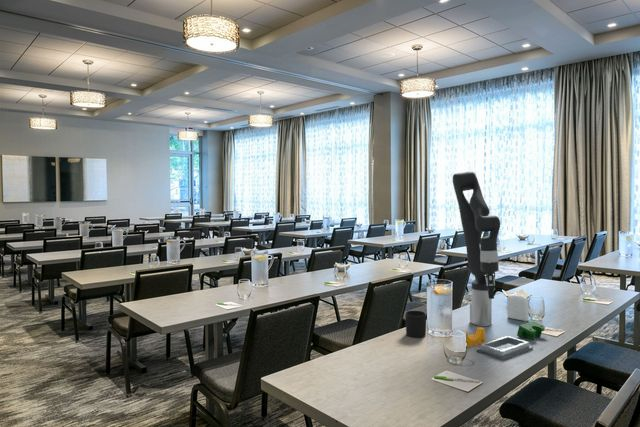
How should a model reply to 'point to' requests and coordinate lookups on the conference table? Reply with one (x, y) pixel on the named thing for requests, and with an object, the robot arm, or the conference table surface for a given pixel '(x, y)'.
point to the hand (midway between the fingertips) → (491, 296)
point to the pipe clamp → (476, 337)
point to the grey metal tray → (505, 347)
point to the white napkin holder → (517, 307)
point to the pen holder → (415, 324)
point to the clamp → (530, 330)
